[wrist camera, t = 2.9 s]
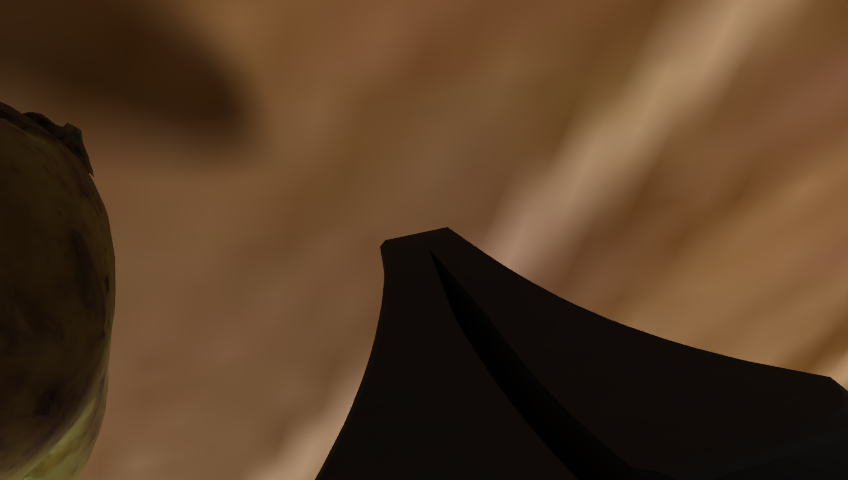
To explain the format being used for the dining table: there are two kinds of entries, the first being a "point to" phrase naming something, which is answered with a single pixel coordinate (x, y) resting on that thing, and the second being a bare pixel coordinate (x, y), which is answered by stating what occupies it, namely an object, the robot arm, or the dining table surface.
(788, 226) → the dining table surface
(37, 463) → the potato
